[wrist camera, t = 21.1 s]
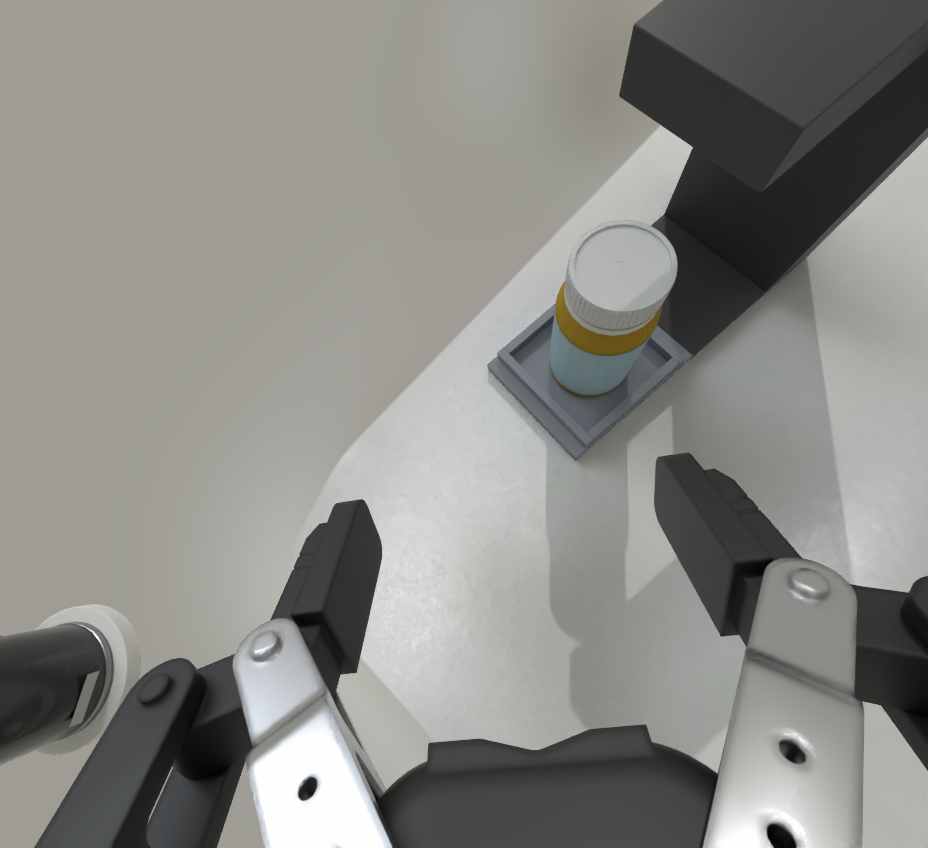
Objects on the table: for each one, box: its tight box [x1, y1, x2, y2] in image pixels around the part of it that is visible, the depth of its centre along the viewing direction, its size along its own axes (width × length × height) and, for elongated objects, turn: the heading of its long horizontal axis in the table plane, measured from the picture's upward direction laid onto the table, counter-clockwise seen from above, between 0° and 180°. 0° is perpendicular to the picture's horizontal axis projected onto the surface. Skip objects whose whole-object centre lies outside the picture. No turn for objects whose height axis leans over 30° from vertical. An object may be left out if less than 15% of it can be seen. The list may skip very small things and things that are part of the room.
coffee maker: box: [487, 0, 928, 460], centre depth 29 cm, size 29×12×26 cm, turn 130°
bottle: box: [549, 220, 677, 397], centre depth 32 cm, size 7×7×15 cm
